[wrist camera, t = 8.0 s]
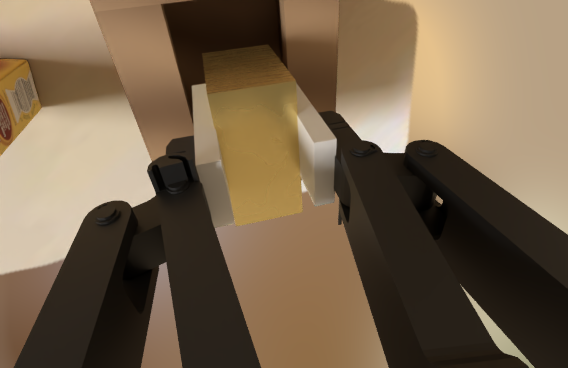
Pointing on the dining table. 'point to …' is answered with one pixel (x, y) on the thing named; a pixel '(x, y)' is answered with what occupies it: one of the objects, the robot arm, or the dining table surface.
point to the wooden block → (256, 131)
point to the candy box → (16, 99)
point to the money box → (209, 38)
